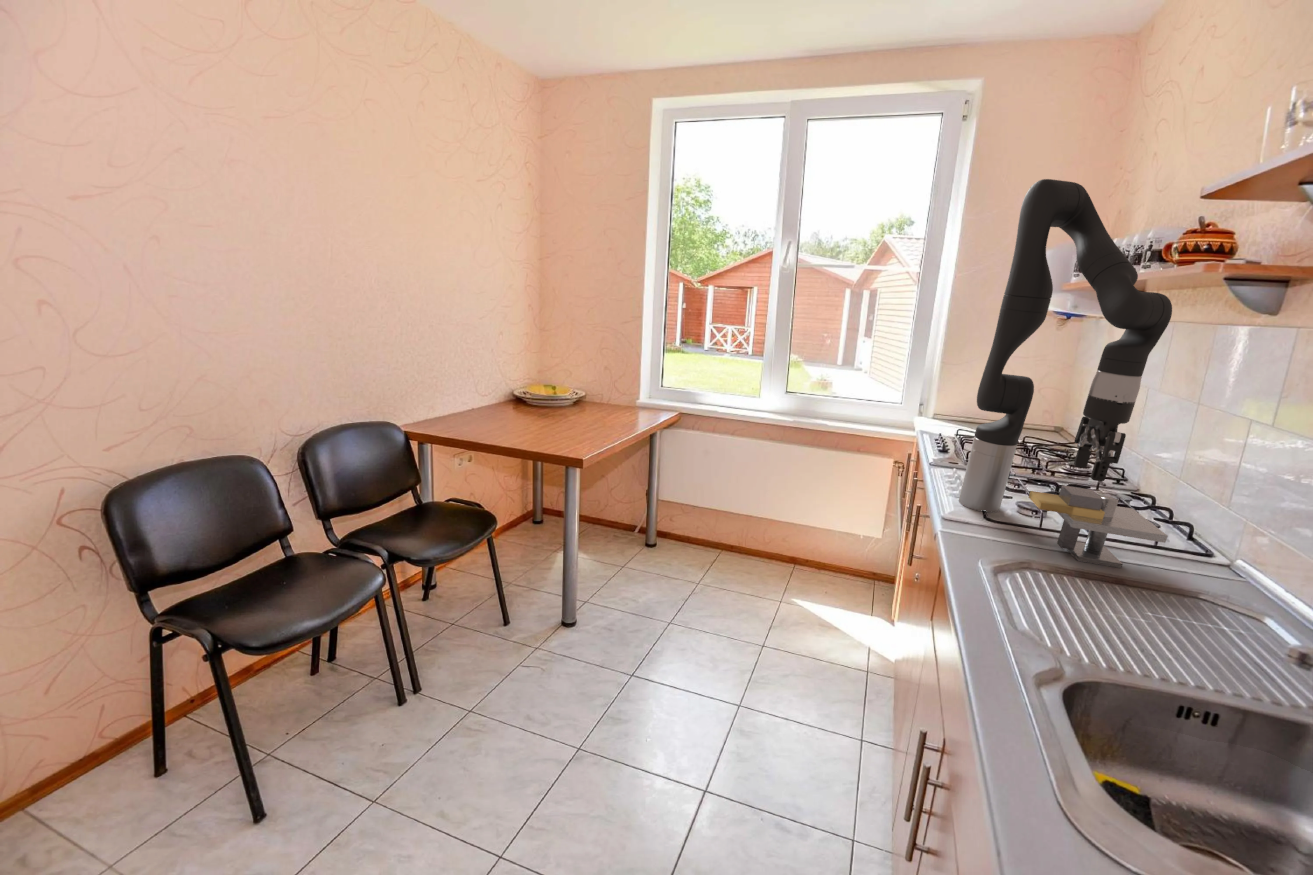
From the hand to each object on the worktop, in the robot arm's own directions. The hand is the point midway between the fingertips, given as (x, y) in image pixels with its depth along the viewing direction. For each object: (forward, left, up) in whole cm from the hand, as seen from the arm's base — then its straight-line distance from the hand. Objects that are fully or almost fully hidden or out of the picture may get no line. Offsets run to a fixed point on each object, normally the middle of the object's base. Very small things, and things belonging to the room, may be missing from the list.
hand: (1088, 473), depth 119 cm
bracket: (0, -2, -8) cm, 8 cm away
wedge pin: (0, 0, -17) cm, 17 cm away
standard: (0, +5, -18) cm, 18 cm away
